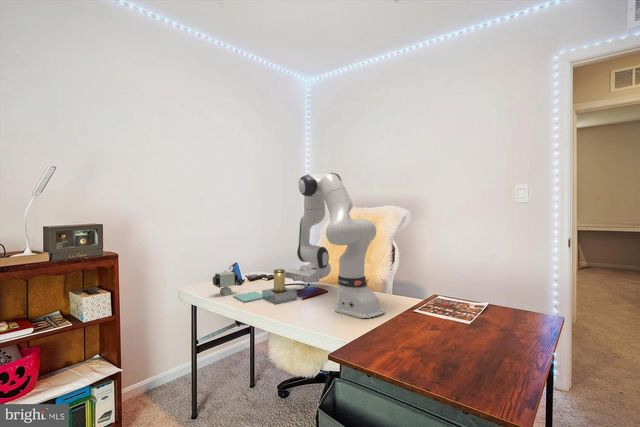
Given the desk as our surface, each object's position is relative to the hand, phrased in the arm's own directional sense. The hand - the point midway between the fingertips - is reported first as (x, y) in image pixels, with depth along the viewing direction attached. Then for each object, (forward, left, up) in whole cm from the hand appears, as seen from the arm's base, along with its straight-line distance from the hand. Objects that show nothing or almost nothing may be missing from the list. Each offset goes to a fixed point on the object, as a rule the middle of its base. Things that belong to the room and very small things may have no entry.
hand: (287, 277), depth 164 cm
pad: (+10, +15, -9) cm, 20 cm away
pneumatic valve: (+23, +22, -10) cm, 33 cm away
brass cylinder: (-1, +5, -9) cm, 11 cm away
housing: (-1, +5, -9) cm, 11 cm away
